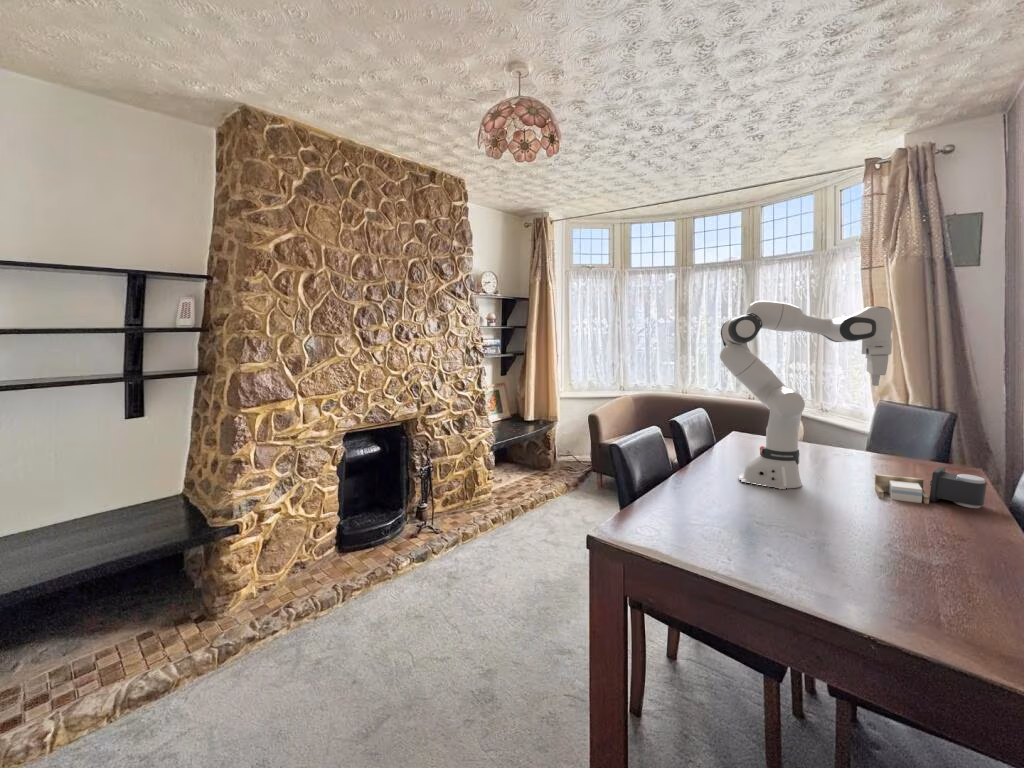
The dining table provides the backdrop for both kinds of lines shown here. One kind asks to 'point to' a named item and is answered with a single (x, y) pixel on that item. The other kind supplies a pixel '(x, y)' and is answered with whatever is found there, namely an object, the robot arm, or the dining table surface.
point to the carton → (905, 491)
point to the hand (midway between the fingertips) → (875, 385)
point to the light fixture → (958, 488)
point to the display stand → (883, 480)
